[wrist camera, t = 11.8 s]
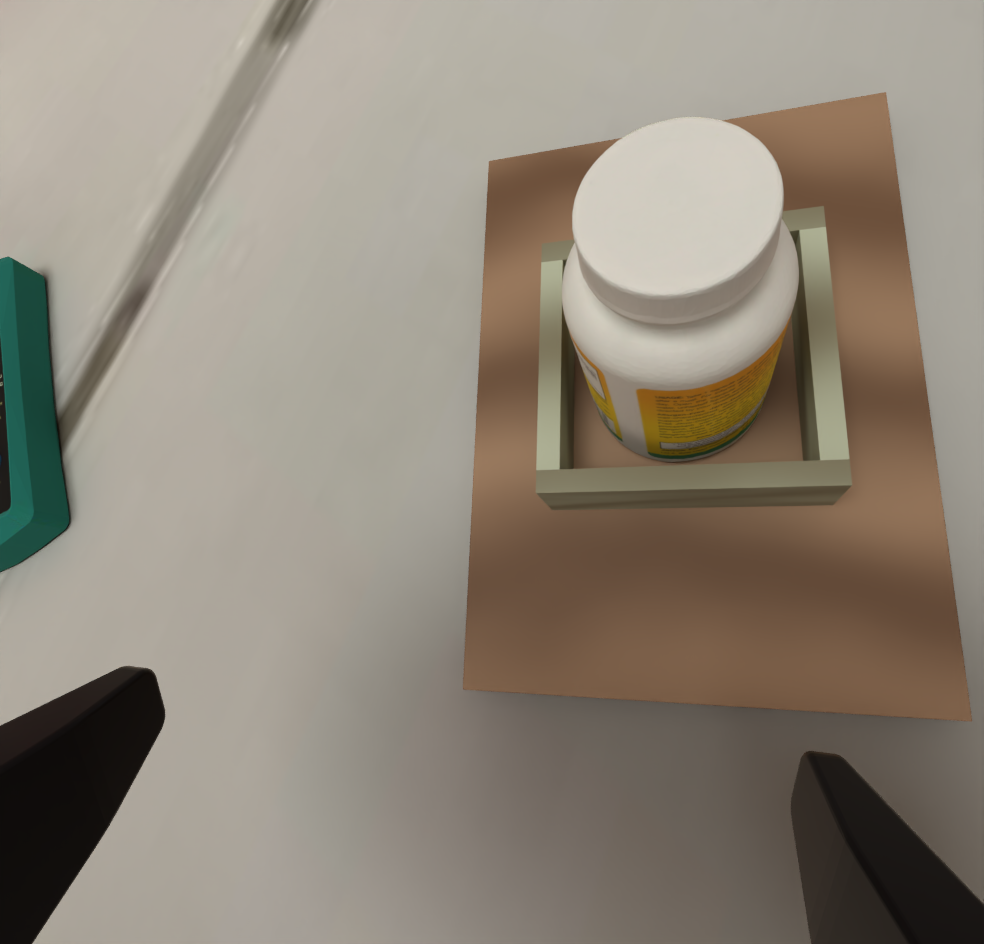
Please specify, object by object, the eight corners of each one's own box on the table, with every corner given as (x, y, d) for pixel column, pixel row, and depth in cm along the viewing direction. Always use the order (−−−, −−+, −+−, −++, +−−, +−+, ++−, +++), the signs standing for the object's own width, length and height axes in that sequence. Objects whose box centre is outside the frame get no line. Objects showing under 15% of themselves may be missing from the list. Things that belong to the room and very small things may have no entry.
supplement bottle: (567, 420, 22) (485, 265, 13) (647, 291, 23) (619, 57, 14) (714, 497, 20) (731, 373, 11) (799, 353, 21) (879, 126, 12)
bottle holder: (957, 717, 18) (1016, 732, 15) (472, 687, 22) (434, 693, 19) (878, 114, 23) (908, 26, 20) (496, 177, 27) (469, 113, 24)
